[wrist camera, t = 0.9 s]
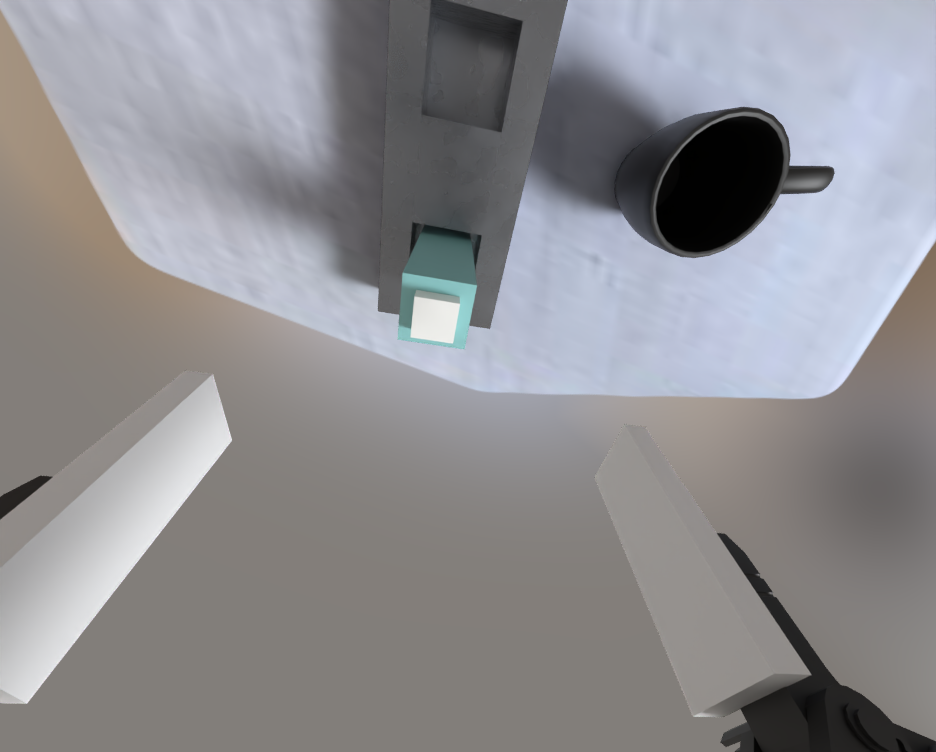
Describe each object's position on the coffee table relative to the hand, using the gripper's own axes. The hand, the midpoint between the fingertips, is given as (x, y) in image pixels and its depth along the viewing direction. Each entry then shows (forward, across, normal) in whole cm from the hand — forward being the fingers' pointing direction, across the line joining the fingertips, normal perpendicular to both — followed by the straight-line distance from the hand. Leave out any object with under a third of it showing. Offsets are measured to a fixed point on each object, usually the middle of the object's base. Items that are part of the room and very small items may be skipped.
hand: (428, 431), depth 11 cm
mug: (+25, +18, +9) cm, 32 cm away
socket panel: (+24, 0, +6) cm, 25 cm away
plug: (+24, 0, 0) cm, 24 cm away
